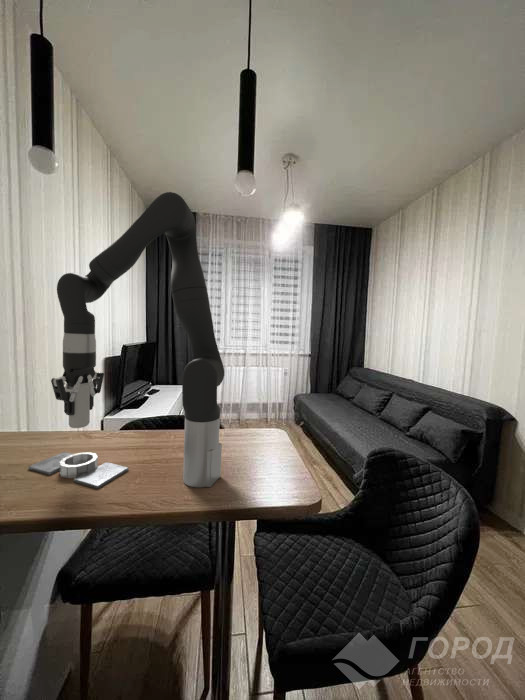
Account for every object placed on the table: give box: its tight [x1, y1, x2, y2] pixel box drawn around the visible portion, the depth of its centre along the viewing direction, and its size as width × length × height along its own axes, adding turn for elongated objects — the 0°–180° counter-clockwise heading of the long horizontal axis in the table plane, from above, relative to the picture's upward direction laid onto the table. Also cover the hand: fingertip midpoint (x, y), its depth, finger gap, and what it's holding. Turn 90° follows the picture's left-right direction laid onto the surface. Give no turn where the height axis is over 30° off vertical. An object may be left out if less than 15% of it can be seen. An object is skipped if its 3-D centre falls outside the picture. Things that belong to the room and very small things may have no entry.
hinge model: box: [28, 451, 129, 490], centre depth 78 cm, size 25×10×3 cm, turn 72°
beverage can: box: [68, 383, 91, 429], centre depth 76 cm, size 5×5×12 cm
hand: (79, 411), depth 76 cm, fingers closed on beverage can, 5 cm apart
